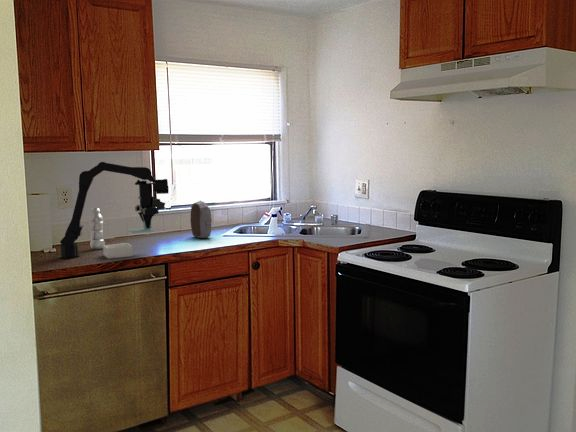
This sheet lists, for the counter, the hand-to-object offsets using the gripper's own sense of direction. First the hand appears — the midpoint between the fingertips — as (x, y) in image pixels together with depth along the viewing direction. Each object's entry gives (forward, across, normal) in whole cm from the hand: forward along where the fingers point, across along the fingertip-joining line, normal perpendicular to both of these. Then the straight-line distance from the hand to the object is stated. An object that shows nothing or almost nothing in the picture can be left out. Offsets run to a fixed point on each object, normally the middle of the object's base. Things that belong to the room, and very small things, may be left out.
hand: (147, 227), depth 257 cm
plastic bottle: (+12, +23, +19) cm, 32 cm away
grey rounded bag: (+12, +27, -37) cm, 47 cm away
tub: (+12, 0, +14) cm, 18 cm away
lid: (+1, 0, +3) cm, 3 cm away
